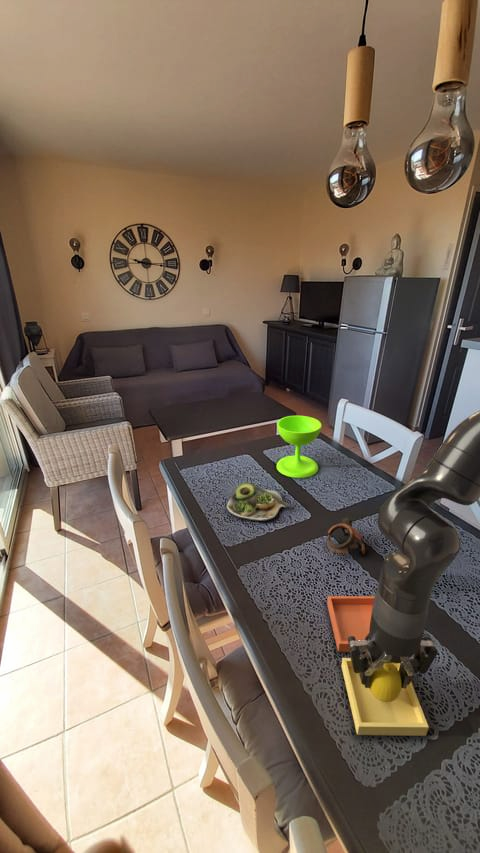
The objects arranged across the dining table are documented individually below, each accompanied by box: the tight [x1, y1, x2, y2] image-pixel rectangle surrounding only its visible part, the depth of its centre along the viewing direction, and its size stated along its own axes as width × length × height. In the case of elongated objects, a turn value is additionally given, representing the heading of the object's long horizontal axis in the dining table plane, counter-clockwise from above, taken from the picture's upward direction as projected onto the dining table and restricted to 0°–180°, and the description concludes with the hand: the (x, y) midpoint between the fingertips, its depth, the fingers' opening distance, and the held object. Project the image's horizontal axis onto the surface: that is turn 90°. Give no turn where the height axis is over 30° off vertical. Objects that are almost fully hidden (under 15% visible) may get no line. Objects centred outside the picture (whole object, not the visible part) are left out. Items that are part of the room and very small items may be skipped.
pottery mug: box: [326, 517, 366, 556], centre depth 98 cm, size 12×10×8 cm
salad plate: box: [225, 482, 290, 522], centre depth 116 cm, size 19×18×5 cm
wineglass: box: [276, 415, 322, 479], centre depth 135 cm, size 16×16×18 cm
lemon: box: [369, 663, 402, 702], centre depth 62 cm, size 6×6×8 cm
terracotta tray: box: [326, 595, 375, 653], centre depth 77 cm, size 11×11×2 cm
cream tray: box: [341, 657, 430, 737], centre depth 64 cm, size 11×11×2 cm
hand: (383, 682), depth 63 cm, fingers closed on lemon, 5 cm apart
